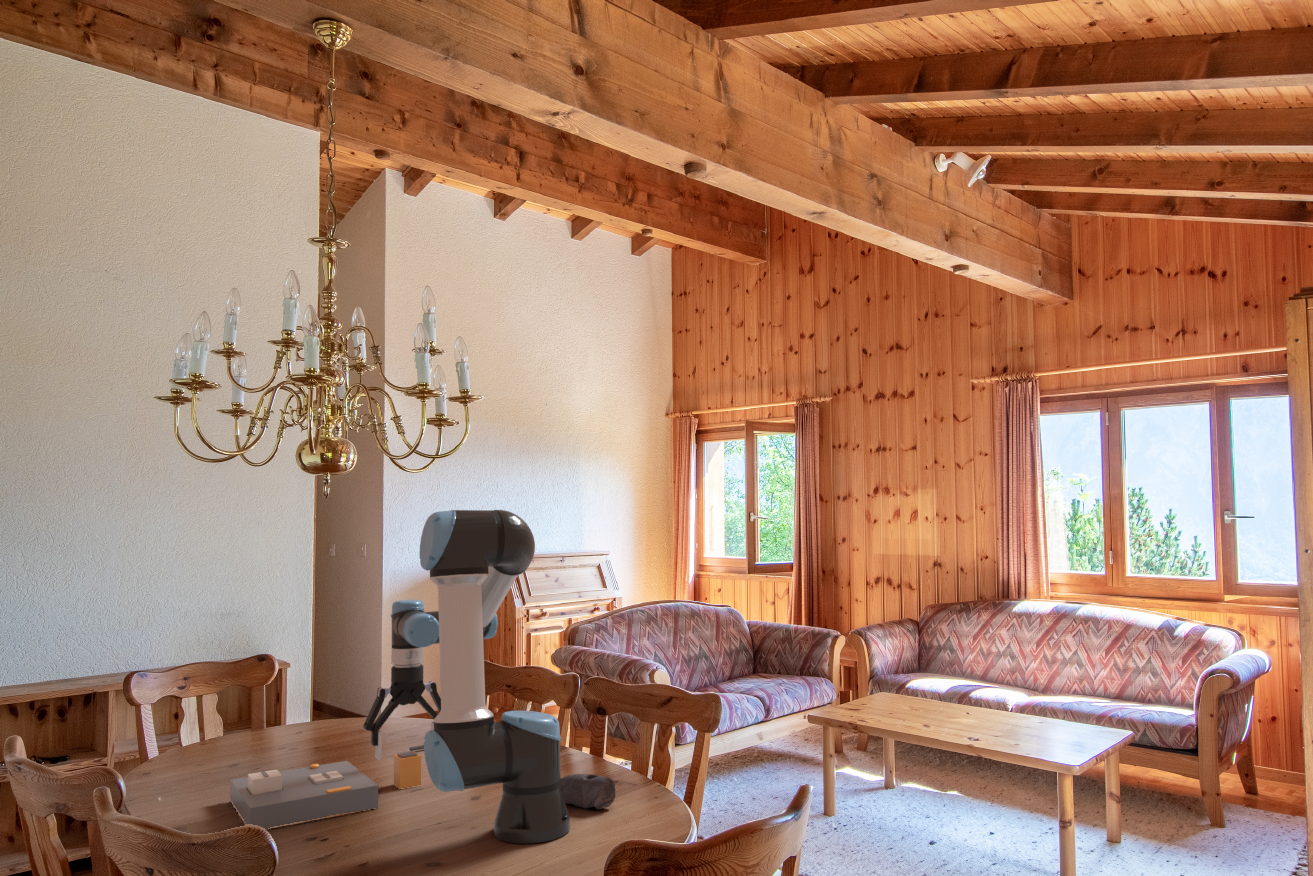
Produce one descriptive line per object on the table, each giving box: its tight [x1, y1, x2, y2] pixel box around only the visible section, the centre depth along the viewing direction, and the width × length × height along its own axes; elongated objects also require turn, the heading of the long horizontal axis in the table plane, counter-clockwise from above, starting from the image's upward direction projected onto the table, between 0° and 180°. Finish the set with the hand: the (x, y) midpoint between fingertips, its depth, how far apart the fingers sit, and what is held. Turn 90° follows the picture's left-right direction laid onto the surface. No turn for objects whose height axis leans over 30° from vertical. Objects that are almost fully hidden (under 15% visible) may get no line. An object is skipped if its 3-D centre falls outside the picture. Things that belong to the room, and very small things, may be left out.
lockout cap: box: [393, 750, 422, 790], centre depth 217 cm, size 5×5×7 cm
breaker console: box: [229, 760, 379, 831], centre depth 203 cm, size 26×26×6 cm
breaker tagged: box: [309, 771, 343, 784], centre depth 206 cm, size 6×6×5 cm
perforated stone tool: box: [561, 773, 616, 810], centre depth 198 cm, size 15×5×7 cm, turn 56°
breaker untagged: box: [247, 769, 282, 795], centre depth 199 cm, size 6×6×5 cm
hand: (406, 754), depth 217 cm, fingers open, 13 cm apart
